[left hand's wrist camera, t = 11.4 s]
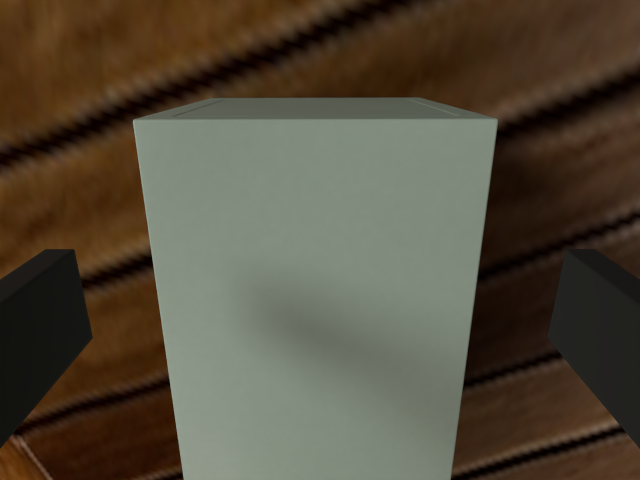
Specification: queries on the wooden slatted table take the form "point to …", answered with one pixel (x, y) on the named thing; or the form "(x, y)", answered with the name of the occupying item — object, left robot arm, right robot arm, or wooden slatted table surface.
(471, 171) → the cabinet
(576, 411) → the wooden slatted table surface
